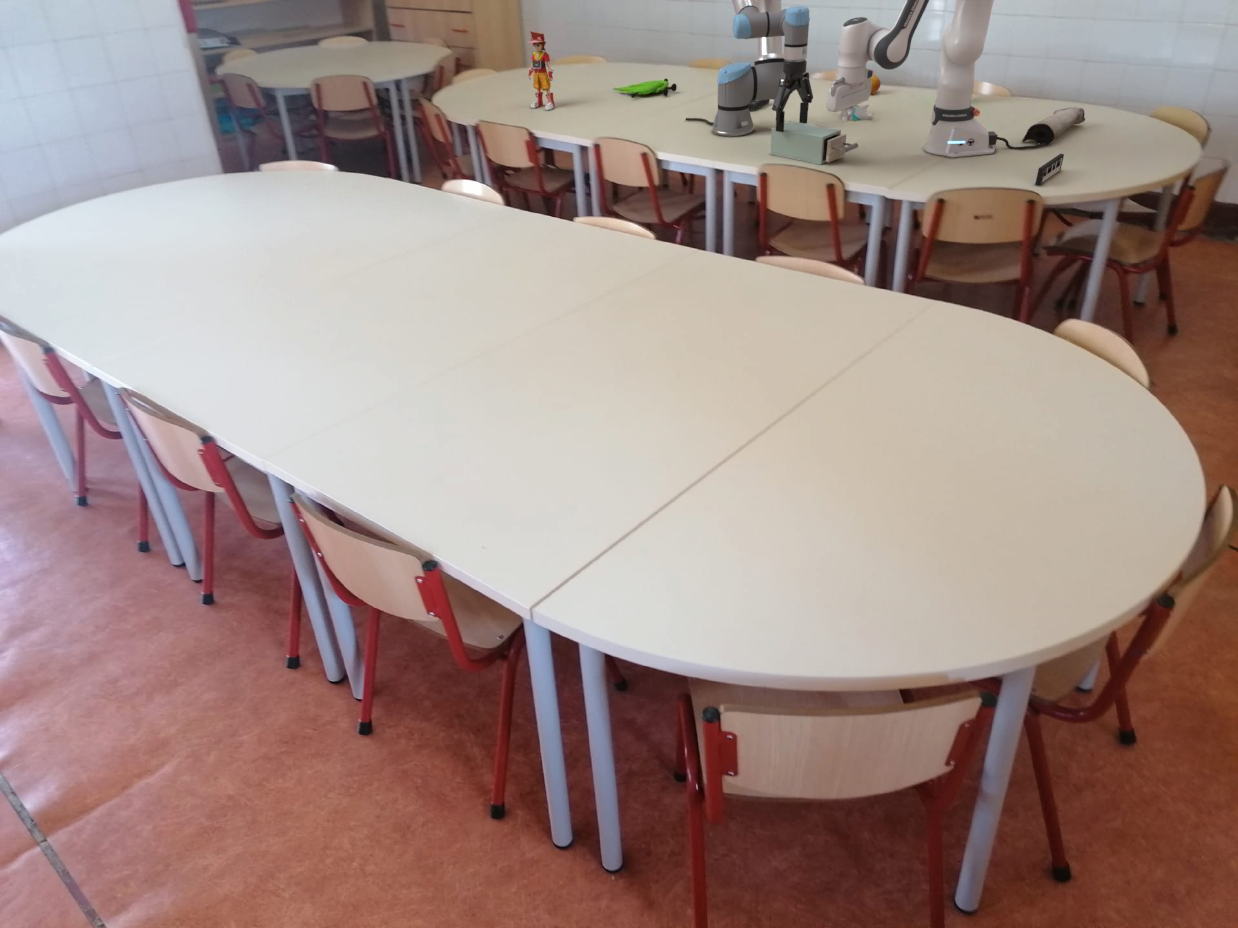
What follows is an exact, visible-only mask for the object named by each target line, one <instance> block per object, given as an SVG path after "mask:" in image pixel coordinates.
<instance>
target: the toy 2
mask: <svg viewBox="0 0 1238 928" xmlns="http://www.w3.org/2000/svg"><path fill="white" fill-rule="evenodd" d="M669 85H670V83H669V79H668V78H664V79H663V80H649V81H644V82H640V83H634V84H629V85H627V86H621V87H613V88H612V89H613V90H616V91H619V92H623V93H627V94H628V93H629V94H631V95H630V96H631V98H632V99H634V98H636V96H637V95H650V94H652V93H654V94H658V93H662V95H663V96H665V97H667V96H668V95H669V90H671V91H672V92H676V91H677V84H676V83H672V84H671V86H669Z"/></svg>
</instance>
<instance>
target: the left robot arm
mask: <svg viewBox="0 0 1238 928" xmlns="http://www.w3.org/2000/svg"><path fill="white" fill-rule="evenodd" d="M731 2H732V5H733V8H734V13H735V14H734V16H733V18H732V34H733V37H734V38H735V39H737V40H749V39H750V40H751V39H757V57H756V58H755V60H754V66H752V65H751V63H750V62H748V61H742V62H741V61H739V62H737V61H736V62H732V63H729V64H728V63H727V64H726V65H723V66H722V67H720V69H719V70H718V75H717V111H716V114H715V118H714V120H713V121H709V120H708V119H706V118H700V117H685V121H689V122H690V121H691V122H692V121H693V122H694V121H695V122H697V121H698V122H704V123H706V124H708V125H710V126H712V133H713V134H715V135H717V136H721V137H741V136H746V135H750V134H752V133H754V122H753V118H752V115H751V110H749V102H750V101H756V100H769V99H770V100H773V104H772V107H771V111H773V112H775V127H776V131H778V132H784V123H785V115H786V114H785V113H786V112H785V111H784V109H785V108H786V105H787V103H788V101H789V98H790V96H791V94H793V92H795V91H796V92H797V94H798V95H799V98H800V99H801V101H800V104H799V105H800V106H799V122H798V123H804V124H808V115H809V104H811V103H812V102H813V100H814V94H813V91H812V90H813V89H812V86H811V81H810V73H809V72H806V71H807V64H808V63H807V62H808V61H807V60H806V59H807V58H808V43H809V29H810V21H811V19H810V8H808V7H807V6H790V7H787V8H783V9H782V0H731ZM783 37H784V43H783ZM770 100H769V101H770Z"/></svg>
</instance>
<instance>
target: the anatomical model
mask: <svg viewBox="0 0 1238 928" xmlns="http://www.w3.org/2000/svg"><path fill="white" fill-rule="evenodd" d="M869 107H870V104H869V103H866V104H864V105H861V106H859V104H857V105H855V109H854V112H853V114H852V119H853V120H854V121H860V120H861V119H871V118H873V117H874V115H873V114H872V113H870V114H869V113H868V112H867V109H868V108H869Z"/></svg>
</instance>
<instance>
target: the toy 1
mask: <svg viewBox="0 0 1238 928" xmlns="http://www.w3.org/2000/svg"><path fill="white" fill-rule="evenodd" d="M529 33H530V35H531V36H528V37H527V38H528V39H529V40H528V41H527V43H529V44H530V43H531V44H532V48H533V50H534V51H533V52H532V55H531V58H530V59H531V63H530V66H528V74H527V75H528V76H527V77H528V79H529V80H531V75H532V74H533V84H532V85H533V86H532V87H533V88H534V89H535V90H536V92H534V95H535V97H536V100H535V101H533V102H531V105H530V108H531V109H535V108H538V107H542V106H544V101H543V100H544V99H543V95H544V92H546V94H545V97H546V99H547V103H546V104H545V106H544V110H546V111H549V110H553V109H554V107H555V106H556V105H555V99H554V92H551V91H550V90H551V86H552V84H551V82H552V81H553V80H554V77H553V73H554V71H555V70H554V69H552V68H551V63H550V61H551V59H550V58H551V57H550V54H549V53H548V52H547V50H546V48H545V46H546V44H547V41H545V35H544V33H543V32H542V33H539V32H535V31H529Z"/></svg>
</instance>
